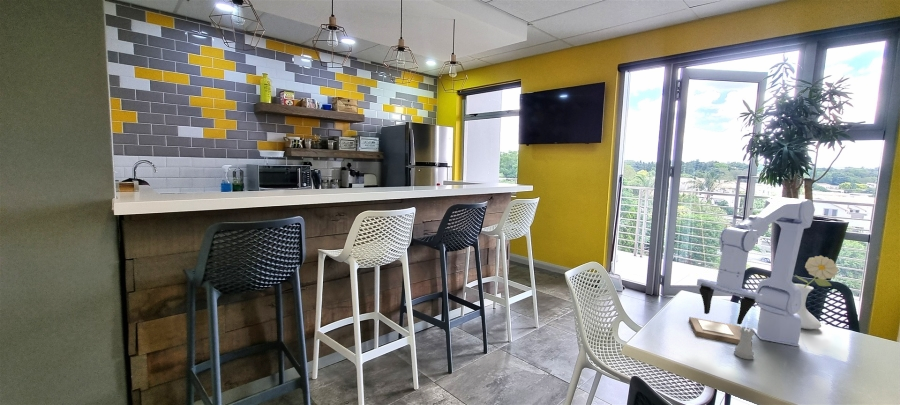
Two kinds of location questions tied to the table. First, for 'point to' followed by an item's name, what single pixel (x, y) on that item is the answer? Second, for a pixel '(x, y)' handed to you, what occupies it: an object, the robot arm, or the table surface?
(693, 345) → the table surface
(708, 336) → the base board
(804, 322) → the flower in vase
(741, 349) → the rook chess piece
